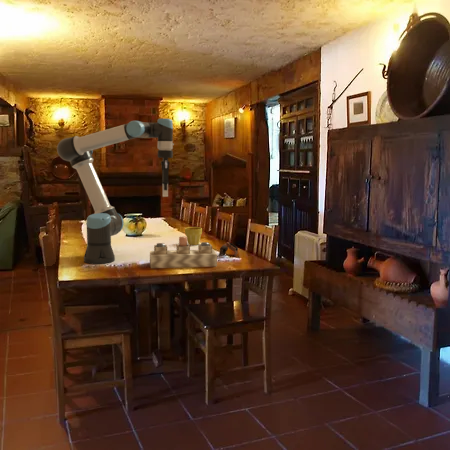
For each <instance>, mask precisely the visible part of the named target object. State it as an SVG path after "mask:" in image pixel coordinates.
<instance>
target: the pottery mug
mask: <svg viewBox="0 0 450 450" xmlns="http://www.w3.org/2000/svg"><path fill="white" fill-rule="evenodd" d="M228 249H229V250H231V251H233V252H234V254H233V256H234V257H236V256H237V255H238V250H239V248H238V246H236V245H235V244H233V243H232V242H230V241H227V242H226V243H223V244H222V246H220V248H219V254H218V255H219V256H220V255H221V256H226V253H227V251H229V250H228Z"/></svg>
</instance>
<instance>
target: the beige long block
mask: <svg viewBox="0 0 450 450" xmlns="http://www.w3.org/2000/svg"><path fill="white" fill-rule="evenodd" d="M197 248H198V249H191V245H189V244H188V243H187V246H186V247H180V246H179V244H176V249H175V250H171V249H170V250H168V246H167V244H165V247H157V244H154V245H153V250H149V264H150V265H149V267H150V269H168V268H169V269H170V268H172V269H173V268H175V269H176V268H202V267H203V268H204V267H218V254H217V252H216V251H215V249H213V245H212V244H211V243H209V246H201V243H199V244H198V247H197Z"/></svg>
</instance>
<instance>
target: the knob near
mask: <svg viewBox="0 0 450 450" xmlns="http://www.w3.org/2000/svg"><path fill="white" fill-rule="evenodd" d="M156 245H157V247H165V245H166V244H165V243H164V242H157V243H156Z"/></svg>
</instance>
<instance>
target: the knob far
mask: <svg viewBox="0 0 450 450" xmlns="http://www.w3.org/2000/svg"><path fill="white" fill-rule="evenodd" d="M200 244H201V246H209V244H210V242H207V241H205V242H204V241H203V242H200Z"/></svg>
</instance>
